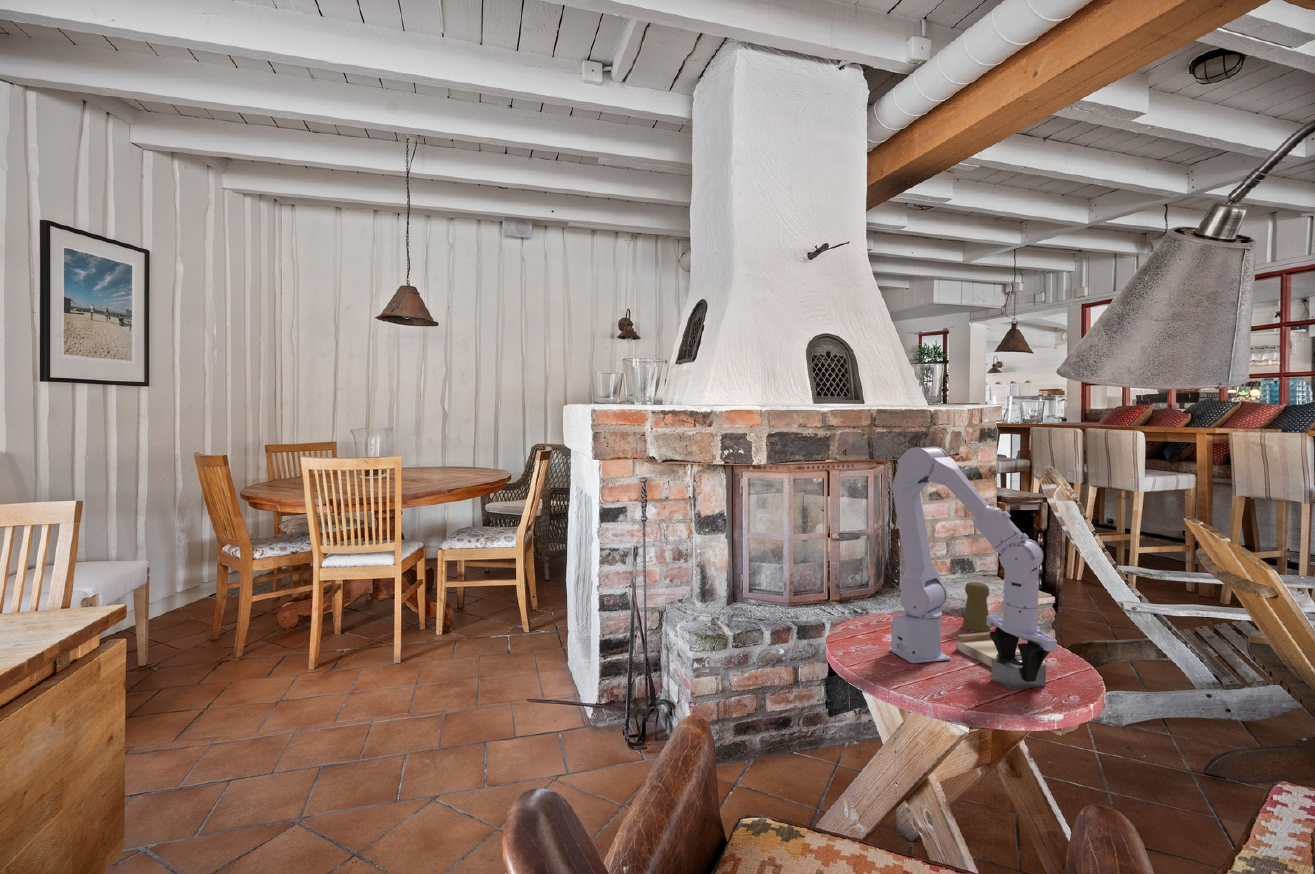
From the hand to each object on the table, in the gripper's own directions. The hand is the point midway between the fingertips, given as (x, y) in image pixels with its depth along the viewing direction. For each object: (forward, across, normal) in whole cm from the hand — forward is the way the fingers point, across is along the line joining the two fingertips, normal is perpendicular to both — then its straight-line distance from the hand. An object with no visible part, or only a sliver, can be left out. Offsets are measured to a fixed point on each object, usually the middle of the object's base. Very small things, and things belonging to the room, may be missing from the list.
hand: (1018, 675), depth 118 cm
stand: (+1, +11, -5) cm, 12 cm away
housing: (+2, 0, 0) cm, 2 cm away
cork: (+2, +28, -15) cm, 32 cm away
